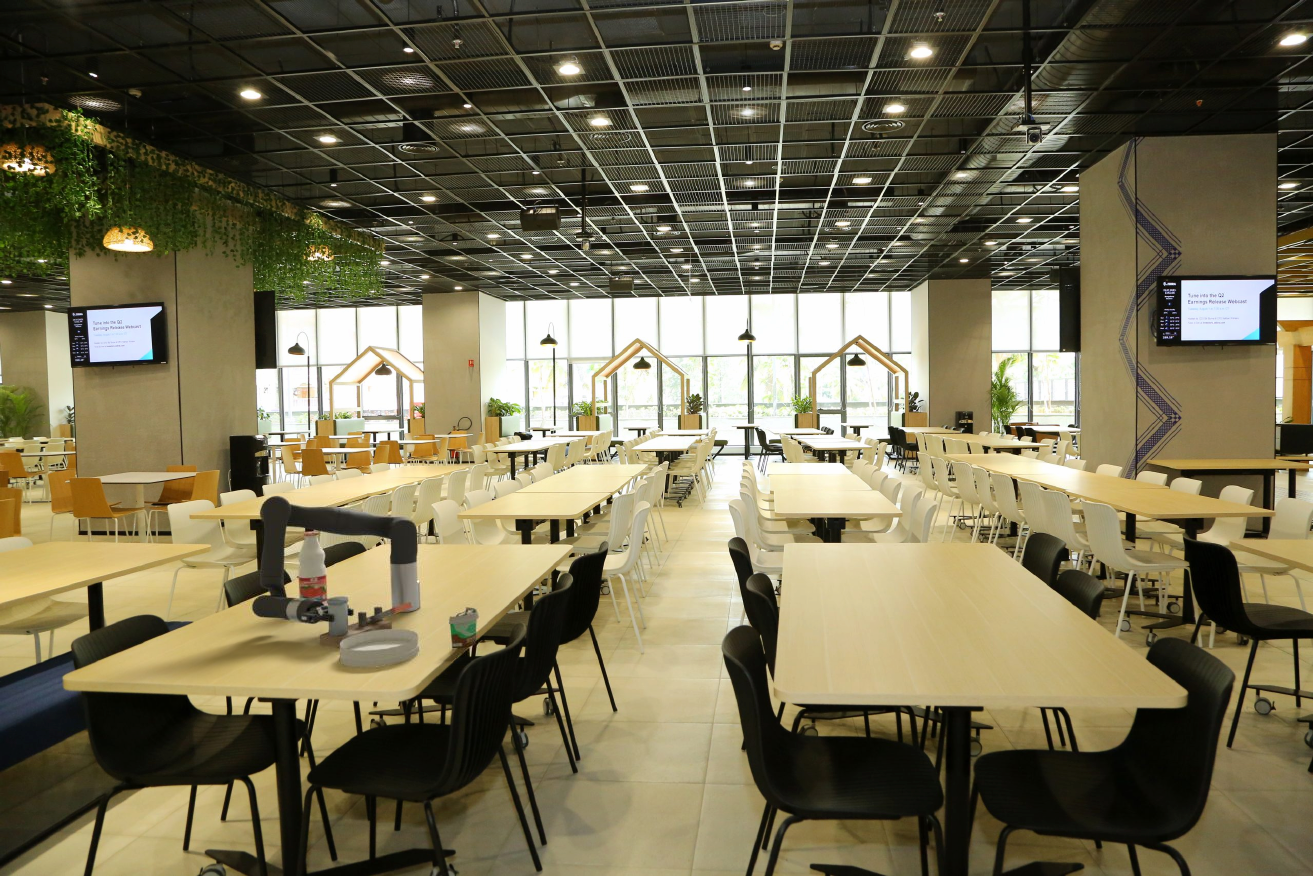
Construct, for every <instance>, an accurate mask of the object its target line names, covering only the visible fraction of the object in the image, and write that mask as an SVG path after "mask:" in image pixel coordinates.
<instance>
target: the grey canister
mask: <svg viewBox="0 0 1313 876" xmlns="http://www.w3.org/2000/svg"><path fill="white" fill-rule="evenodd" d="M348 602H349V596H344V595H343V596H341V595H339V596H334V597H329V598H327V605H328V614H332V615H334V622H328V632H329V636H333V637H337V636H343V635H346V634H348V633H349V632H348V625H349V616H348V607H347V605H348Z"/></svg>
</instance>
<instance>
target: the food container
mask: <svg viewBox="0 0 1313 876" xmlns="http://www.w3.org/2000/svg"><path fill="white" fill-rule="evenodd" d="M479 615H480V614H479V613H478V609H476V608H475V607H465V610H464V611H462V612H459V613H457V614H456V615H455V616H449V619H448V625H449V627H450V628H449V629H450V638H451V649H452V648H457V649H456V650H461V649H466V648H471V647H473V646H475V645H476V642H477V641H476V640H477V623H478V622H477V621H478V619H479V617H480V616H479Z"/></svg>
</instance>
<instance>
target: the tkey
mask: <svg viewBox="0 0 1313 876" xmlns="http://www.w3.org/2000/svg"><path fill="white" fill-rule="evenodd" d="M409 608H412V605H411V602H409V603H406V604H403V605H400V606H397V607H394V608H392V607H391V608H390V609H387V610H385V611H382V612H381V613H379V614H376V615H374V614H373V615H370V616H367V624H369V623H372V622H375V621H378V620H379V619H382V618H383V619H384V618H387V617H389V616H392V615H395V614H397V613H402V612H401V611H403V610H406V609H409Z"/></svg>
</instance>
